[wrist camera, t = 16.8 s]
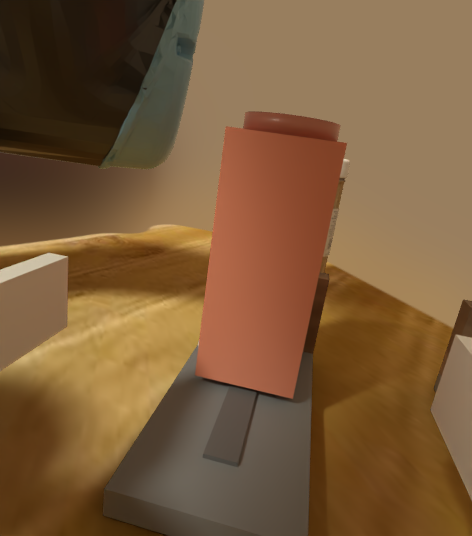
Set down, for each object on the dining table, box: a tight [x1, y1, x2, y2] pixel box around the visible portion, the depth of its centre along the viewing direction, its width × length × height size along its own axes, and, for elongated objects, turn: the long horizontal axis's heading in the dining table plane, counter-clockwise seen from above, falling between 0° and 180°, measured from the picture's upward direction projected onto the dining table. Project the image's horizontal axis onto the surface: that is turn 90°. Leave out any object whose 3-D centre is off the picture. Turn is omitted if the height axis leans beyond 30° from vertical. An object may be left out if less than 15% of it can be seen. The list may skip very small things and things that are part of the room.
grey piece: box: [103, 272, 329, 536], centre depth 19 cm, size 14×7×6 cm, turn 168°
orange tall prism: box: [195, 112, 347, 399], centre depth 20 cm, size 5×5×13 cm
